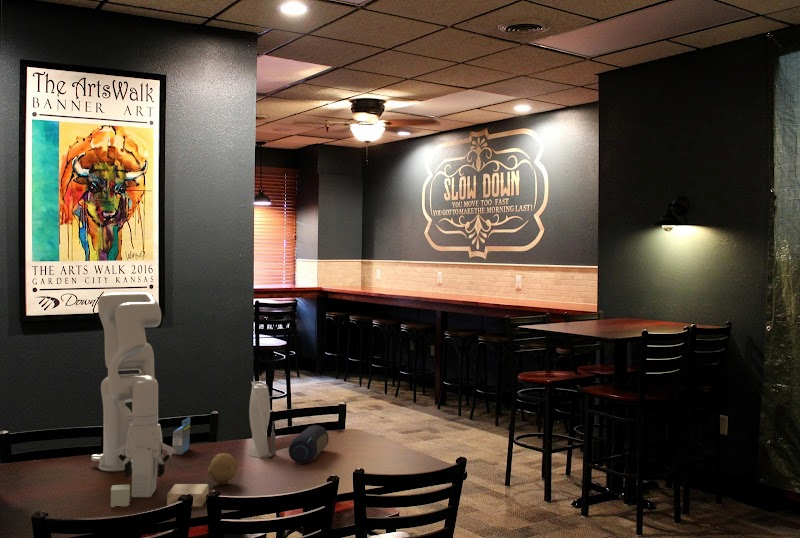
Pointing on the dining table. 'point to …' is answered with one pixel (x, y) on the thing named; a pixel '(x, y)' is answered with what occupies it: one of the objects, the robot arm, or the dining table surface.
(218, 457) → the tan rounded lump
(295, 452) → the portable speaker
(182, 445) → the label tape box
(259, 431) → the skyscraper
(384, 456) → the dining table surface
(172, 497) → the maple slab
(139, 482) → the skincare box
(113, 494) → the sage block
